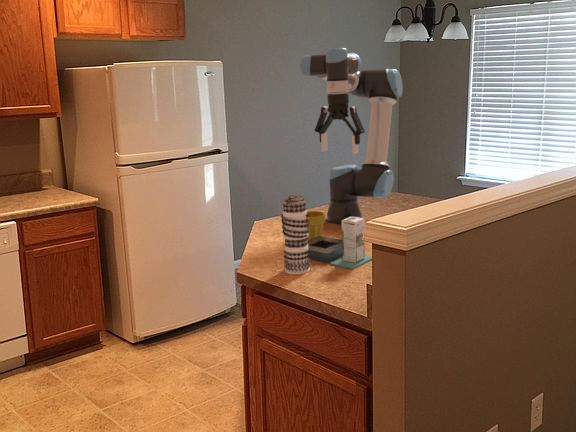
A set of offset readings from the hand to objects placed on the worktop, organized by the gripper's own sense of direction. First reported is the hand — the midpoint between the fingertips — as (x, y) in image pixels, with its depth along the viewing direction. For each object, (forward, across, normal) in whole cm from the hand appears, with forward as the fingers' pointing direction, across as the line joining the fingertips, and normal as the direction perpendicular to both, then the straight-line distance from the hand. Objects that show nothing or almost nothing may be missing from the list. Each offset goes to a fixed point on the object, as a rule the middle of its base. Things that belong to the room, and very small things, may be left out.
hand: (339, 152), depth 230 cm
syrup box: (+34, +16, -16) cm, 41 cm away
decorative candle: (+34, +5, -33) cm, 48 cm away
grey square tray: (+34, +2, -14) cm, 37 cm away
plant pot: (+35, -14, 0) cm, 37 cm away
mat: (+34, +16, -16) cm, 41 cm away
